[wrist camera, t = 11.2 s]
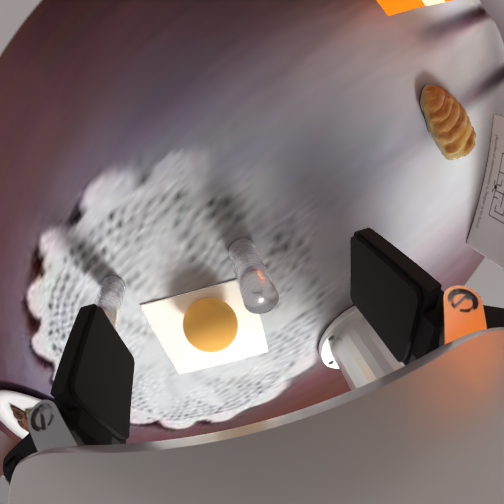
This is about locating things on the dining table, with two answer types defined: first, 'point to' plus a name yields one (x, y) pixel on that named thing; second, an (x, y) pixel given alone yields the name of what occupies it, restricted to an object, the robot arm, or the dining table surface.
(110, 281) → the post left
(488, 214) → the cereal box
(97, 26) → the dining table surface
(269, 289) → the post right
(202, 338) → the ball
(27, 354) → the dining table surface
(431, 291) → the robot arm
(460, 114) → the pastry
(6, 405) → the plated food
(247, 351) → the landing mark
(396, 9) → the orange juice
